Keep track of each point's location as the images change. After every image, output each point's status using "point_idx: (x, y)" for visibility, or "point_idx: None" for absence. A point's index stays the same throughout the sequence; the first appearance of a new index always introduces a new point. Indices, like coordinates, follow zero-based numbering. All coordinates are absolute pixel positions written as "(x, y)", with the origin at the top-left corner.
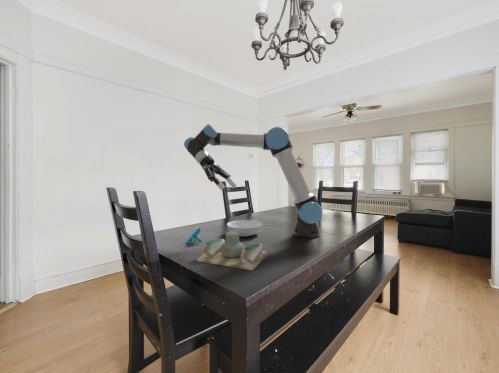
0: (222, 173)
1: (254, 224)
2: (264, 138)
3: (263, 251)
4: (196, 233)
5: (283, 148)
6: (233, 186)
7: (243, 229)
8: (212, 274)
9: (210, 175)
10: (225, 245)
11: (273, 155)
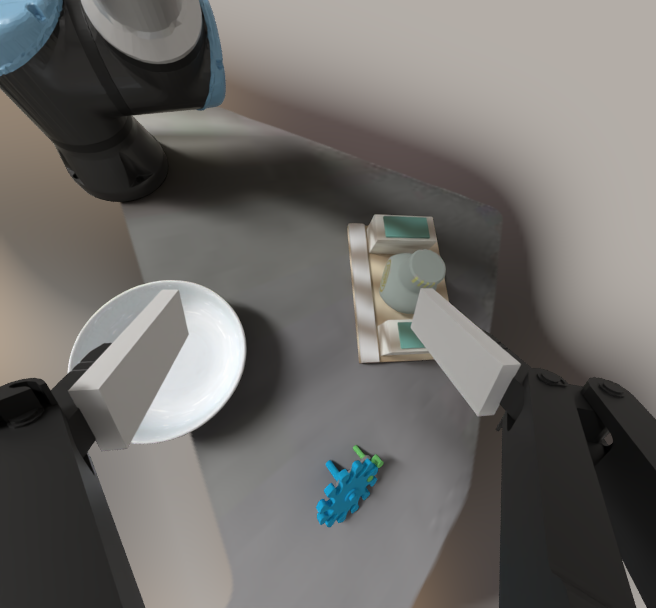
0: (113, 552)
1: (99, 335)
2: None
3: (352, 230)
4: (357, 477)
5: None
6: (181, 328)
7: (241, 324)
8: (482, 287)
9: (635, 412)
10: (435, 286)
11: None
